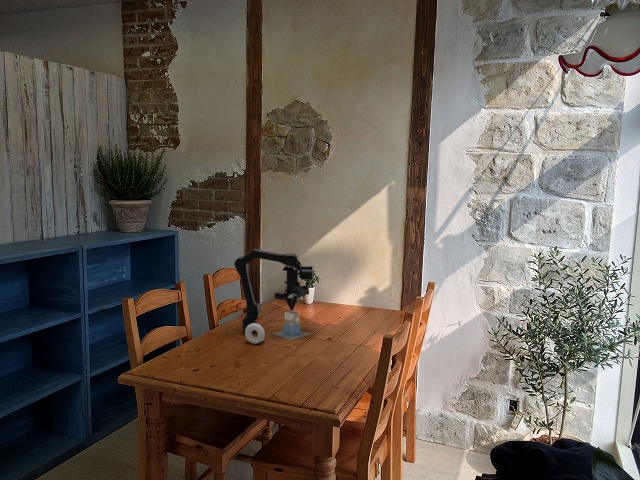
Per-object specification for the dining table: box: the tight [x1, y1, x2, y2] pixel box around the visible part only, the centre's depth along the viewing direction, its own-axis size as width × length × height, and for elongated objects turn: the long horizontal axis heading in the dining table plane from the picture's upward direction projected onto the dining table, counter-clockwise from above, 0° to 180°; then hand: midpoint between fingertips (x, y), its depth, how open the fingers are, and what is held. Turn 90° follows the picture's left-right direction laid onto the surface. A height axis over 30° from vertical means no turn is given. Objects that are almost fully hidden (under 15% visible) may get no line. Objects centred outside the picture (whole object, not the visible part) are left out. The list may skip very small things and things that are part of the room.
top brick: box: [284, 309, 300, 326], centre depth 261 cm, size 5×5×6 cm
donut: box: [244, 322, 266, 345], centre depth 248 cm, size 10×4×10 cm, turn 73°
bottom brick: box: [282, 323, 301, 336], centre depth 261 cm, size 6×6×5 cm
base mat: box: [271, 329, 311, 341], centre depth 262 cm, size 14×14×1 cm
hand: (291, 310), depth 260 cm, fingers closed
